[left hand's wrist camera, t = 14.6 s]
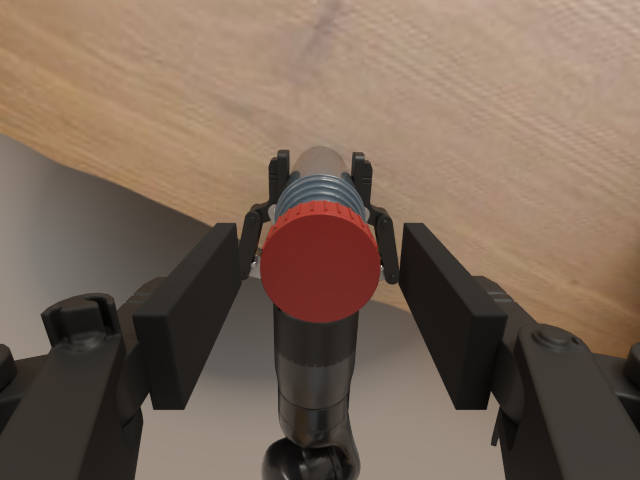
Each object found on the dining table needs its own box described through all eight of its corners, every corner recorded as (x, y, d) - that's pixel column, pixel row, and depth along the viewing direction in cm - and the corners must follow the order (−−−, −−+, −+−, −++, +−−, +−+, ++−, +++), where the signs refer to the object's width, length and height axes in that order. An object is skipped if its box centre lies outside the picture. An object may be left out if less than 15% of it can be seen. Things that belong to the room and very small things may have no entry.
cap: (359, 307, 15) (364, 333, 13) (259, 288, 15) (250, 313, 13) (387, 211, 14) (397, 226, 12) (275, 188, 13) (268, 200, 11)
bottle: (285, 183, 33) (233, 288, 13) (309, 136, 31) (291, 177, 12) (329, 207, 33) (343, 339, 14) (355, 162, 32) (411, 241, 12)
